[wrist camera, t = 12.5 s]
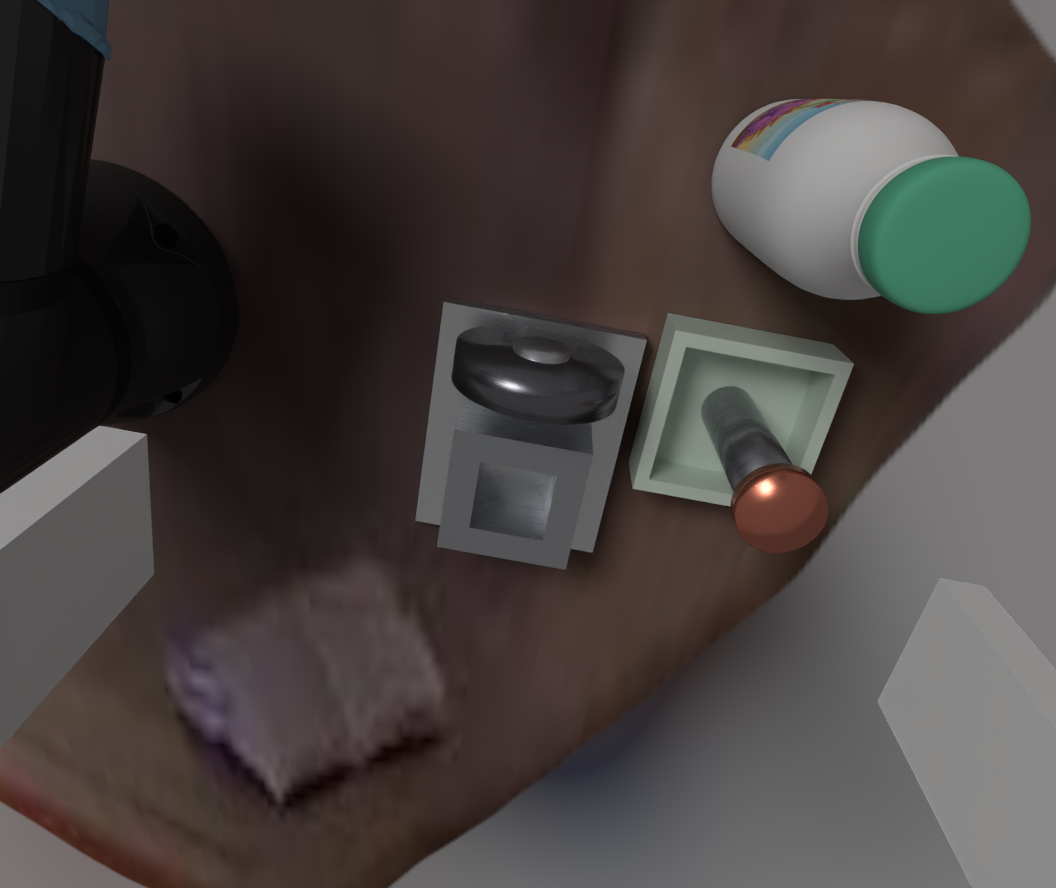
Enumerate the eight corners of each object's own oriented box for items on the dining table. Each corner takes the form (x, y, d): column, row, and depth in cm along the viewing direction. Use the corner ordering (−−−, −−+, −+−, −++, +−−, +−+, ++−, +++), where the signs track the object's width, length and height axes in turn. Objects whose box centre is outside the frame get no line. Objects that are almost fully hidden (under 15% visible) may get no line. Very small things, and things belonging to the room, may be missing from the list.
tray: (628, 462, 48) (632, 488, 44) (667, 313, 43) (675, 330, 40) (779, 489, 48) (794, 518, 45) (833, 344, 44) (854, 363, 40)
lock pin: (685, 435, 46) (724, 545, 35) (703, 373, 44) (751, 468, 33) (750, 446, 46) (810, 559, 35) (771, 384, 44) (841, 483, 33)
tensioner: (418, 511, 50) (384, 604, 41) (446, 296, 44) (413, 349, 34) (592, 542, 50) (596, 642, 41) (645, 333, 44) (664, 396, 35)
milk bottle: (828, 260, 42) (1025, 383, 24) (693, 238, 42) (787, 345, 23) (876, 111, 38) (1147, 123, 20) (730, 87, 38) (872, 76, 20)
